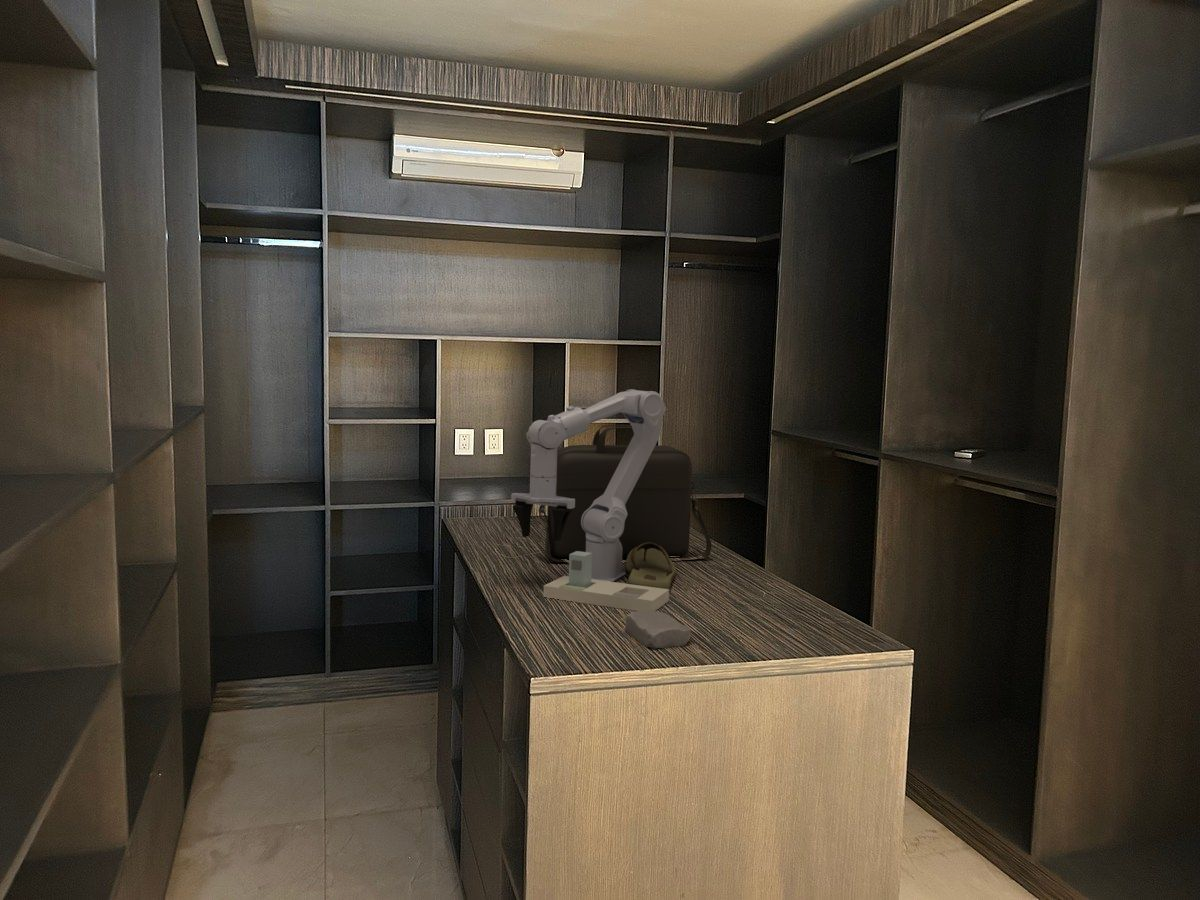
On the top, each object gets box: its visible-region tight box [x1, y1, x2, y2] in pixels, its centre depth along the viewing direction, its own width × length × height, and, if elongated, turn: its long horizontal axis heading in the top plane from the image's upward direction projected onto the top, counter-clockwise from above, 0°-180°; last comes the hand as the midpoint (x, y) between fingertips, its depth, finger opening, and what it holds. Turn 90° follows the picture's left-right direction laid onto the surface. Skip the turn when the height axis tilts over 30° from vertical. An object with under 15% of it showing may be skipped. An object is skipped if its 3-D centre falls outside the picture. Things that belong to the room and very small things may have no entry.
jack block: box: [543, 575, 670, 612], centre depth 193 cm, size 10×24×3 cm, turn 67°
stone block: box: [624, 610, 692, 650], centre depth 168 cm, size 12×5×10 cm
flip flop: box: [624, 542, 677, 591], centre depth 210 cm, size 29×12×8 cm, turn 175°
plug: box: [568, 551, 592, 588], centre depth 195 cm, size 4×4×9 cm
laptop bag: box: [538, 424, 712, 563], centre depth 232 cm, size 43×13×33 cm, turn 102°
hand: (541, 538), depth 202 cm, fingers open, 7 cm apart
